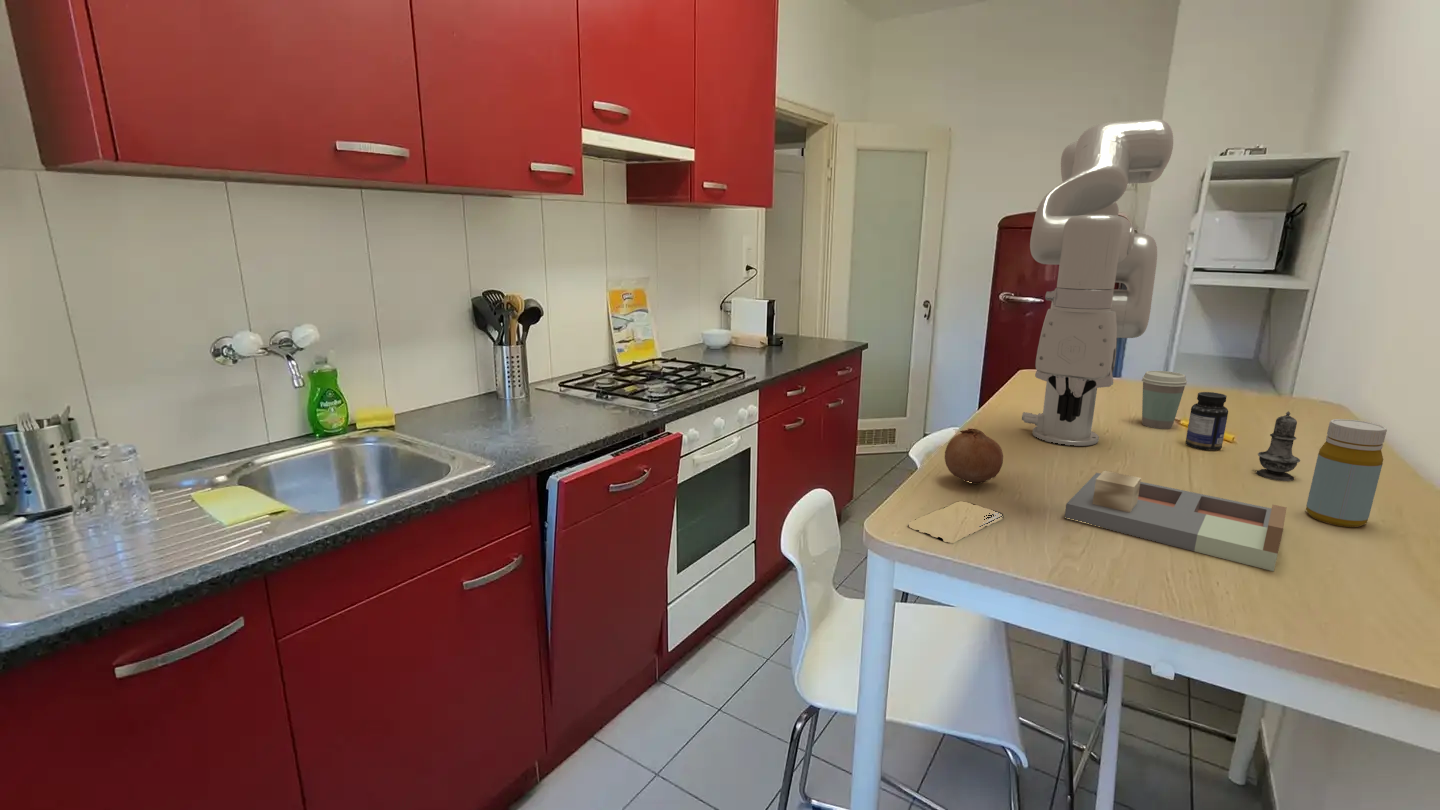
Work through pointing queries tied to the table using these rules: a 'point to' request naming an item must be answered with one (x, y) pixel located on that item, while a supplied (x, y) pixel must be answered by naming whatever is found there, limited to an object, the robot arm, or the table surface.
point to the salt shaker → (1280, 451)
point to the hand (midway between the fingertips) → (1067, 419)
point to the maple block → (1116, 491)
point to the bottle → (1347, 473)
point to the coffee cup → (1161, 398)
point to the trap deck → (1190, 522)
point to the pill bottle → (1207, 422)
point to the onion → (973, 456)
